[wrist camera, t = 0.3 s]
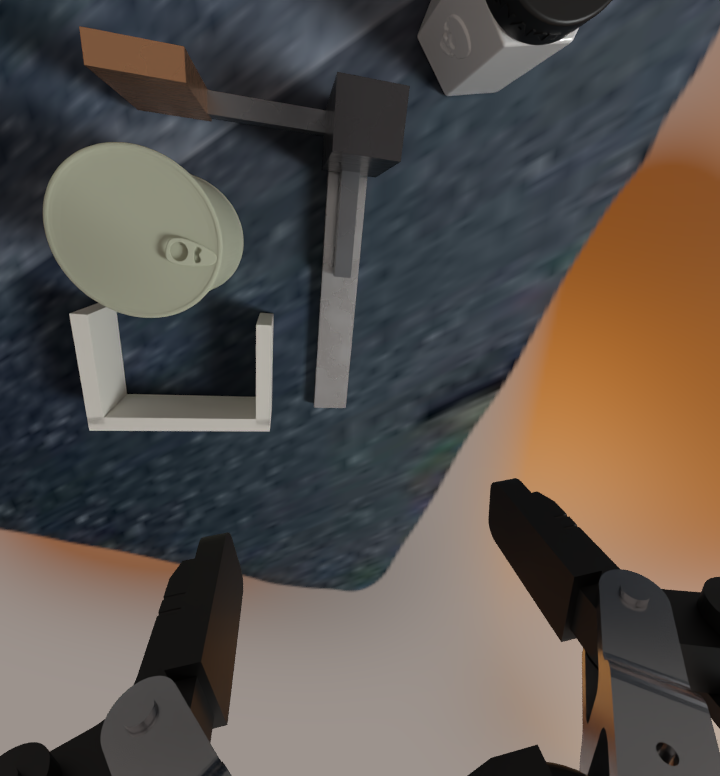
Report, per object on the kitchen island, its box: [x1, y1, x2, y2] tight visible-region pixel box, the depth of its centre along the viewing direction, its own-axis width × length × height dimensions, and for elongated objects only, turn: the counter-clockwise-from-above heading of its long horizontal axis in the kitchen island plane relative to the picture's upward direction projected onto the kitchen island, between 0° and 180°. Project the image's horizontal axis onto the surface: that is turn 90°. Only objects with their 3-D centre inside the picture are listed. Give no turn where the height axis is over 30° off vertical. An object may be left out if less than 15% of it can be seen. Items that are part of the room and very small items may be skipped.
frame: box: [69, 303, 273, 431], centre depth 33 cm, size 10×14×5 cm, turn 84°
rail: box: [314, 171, 367, 408], centre depth 35 cm, size 26×3×1 cm, turn 174°
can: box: [43, 142, 243, 318], centre depth 26 cm, size 9×9×12 cm
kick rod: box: [79, 26, 410, 278], centre depth 27 cm, size 12×18×8 cm
